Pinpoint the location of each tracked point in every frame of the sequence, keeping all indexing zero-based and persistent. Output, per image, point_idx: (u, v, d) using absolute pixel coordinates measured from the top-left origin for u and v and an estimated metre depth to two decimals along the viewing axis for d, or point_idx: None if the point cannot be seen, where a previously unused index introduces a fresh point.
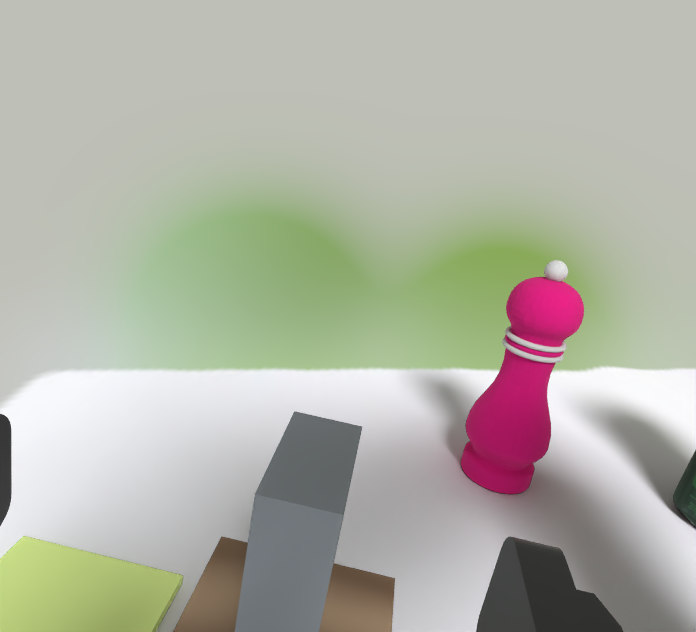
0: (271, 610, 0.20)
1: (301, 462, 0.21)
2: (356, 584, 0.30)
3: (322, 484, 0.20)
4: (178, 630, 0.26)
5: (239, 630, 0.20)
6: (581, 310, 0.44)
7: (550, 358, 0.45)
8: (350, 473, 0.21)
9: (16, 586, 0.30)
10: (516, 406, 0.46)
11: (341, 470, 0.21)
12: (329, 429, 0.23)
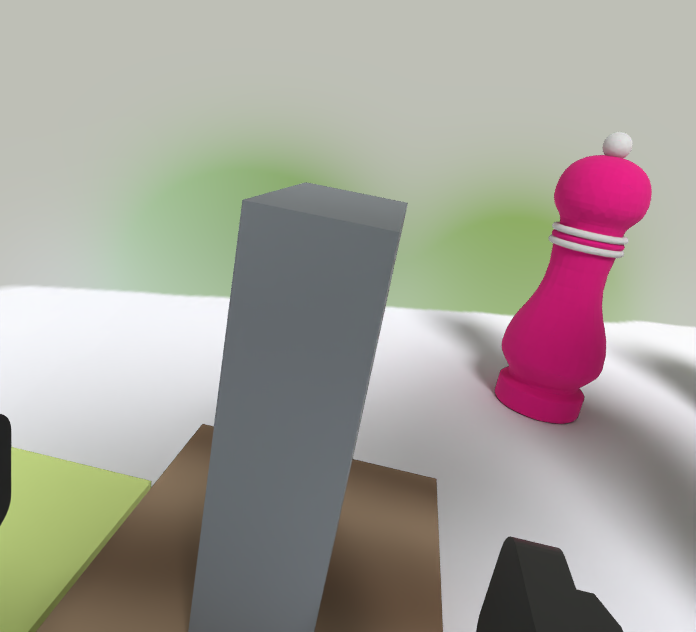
0: (268, 431, 0.12)
1: (320, 200, 0.13)
2: (385, 482, 0.22)
3: (358, 213, 0.12)
4: (132, 520, 0.17)
5: (215, 471, 0.12)
6: (650, 190, 0.36)
7: (610, 251, 0.37)
8: (400, 216, 0.13)
9: None
10: (567, 313, 0.38)
11: (386, 213, 0.13)
12: (359, 196, 0.15)
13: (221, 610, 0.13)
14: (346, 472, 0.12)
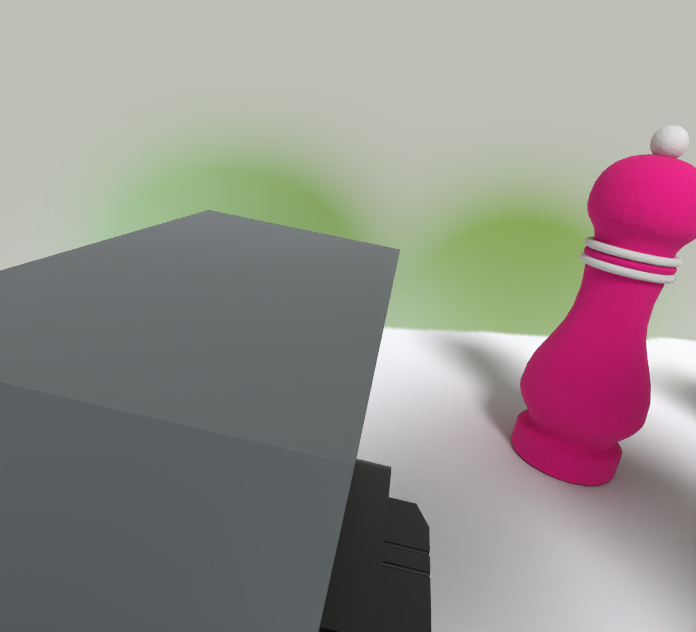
0: None
1: (179, 275, 0.05)
2: None
3: (249, 334, 0.04)
4: None
5: None
6: None
7: (661, 275, 0.29)
8: (377, 318, 0.05)
9: None
10: (605, 352, 0.30)
11: (341, 309, 0.05)
12: (304, 240, 0.08)
13: None
14: None
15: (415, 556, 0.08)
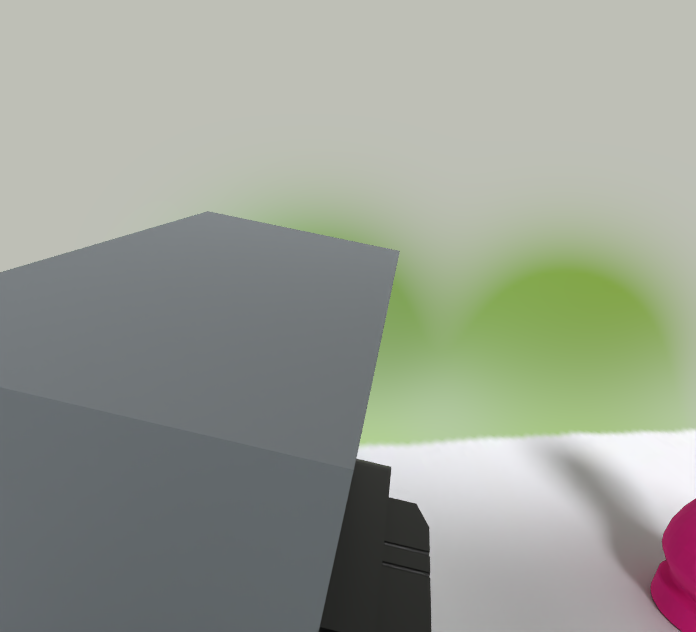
0: None
1: (177, 277, 0.05)
2: None
3: (249, 338, 0.04)
4: None
5: None
6: None
7: None
8: (377, 320, 0.05)
9: None
10: None
11: (341, 311, 0.05)
12: (303, 242, 0.08)
13: None
14: None
15: (415, 556, 0.08)
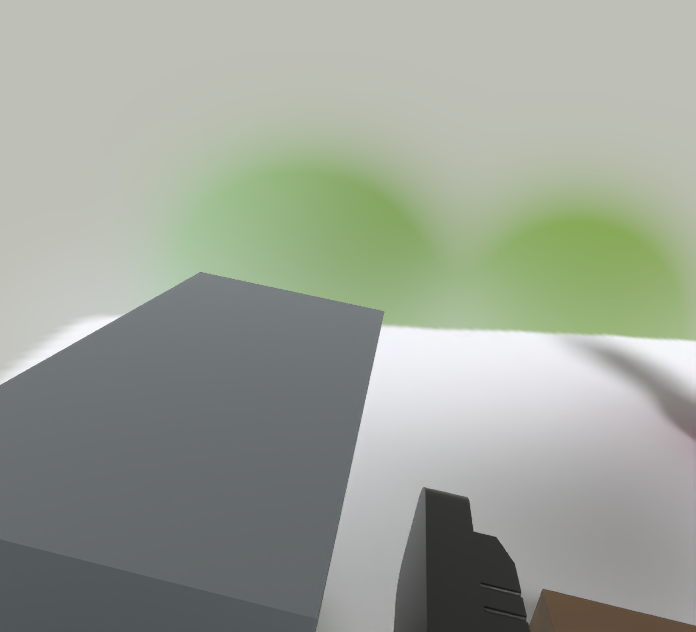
0: None
1: (167, 373, 0.05)
2: None
3: (231, 451, 0.04)
4: None
5: None
6: None
7: None
8: (354, 415, 0.05)
9: None
10: None
11: (321, 405, 0.05)
12: (291, 308, 0.08)
13: None
14: None
15: (507, 598, 0.07)
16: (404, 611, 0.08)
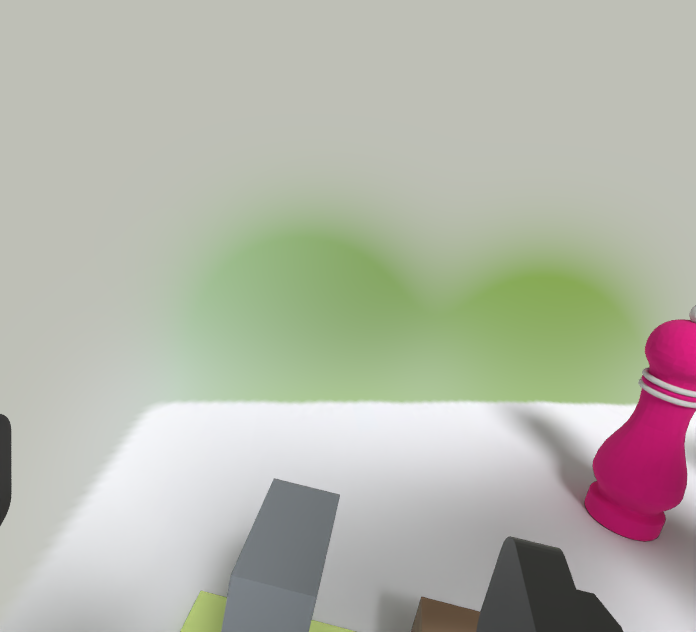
0: None
1: (278, 537, 0.21)
2: None
3: (298, 562, 0.20)
4: None
5: None
6: None
7: None
8: (325, 549, 0.21)
9: None
10: (658, 452, 0.45)
11: (317, 546, 0.21)
12: (307, 498, 0.24)
13: None
14: None
15: None
16: None
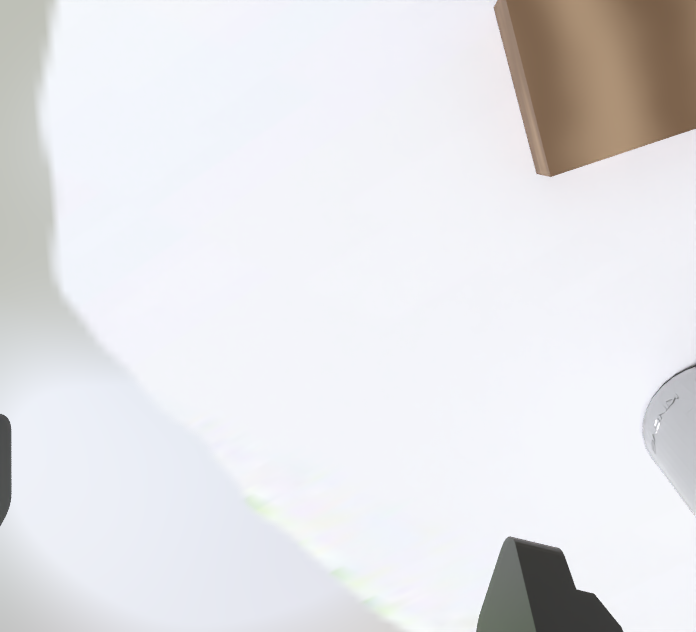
0: None
1: None
2: None
3: None
4: None
5: None
6: None
7: None
8: None
9: None
10: None
11: None
12: None
13: None
14: None
15: None
16: None
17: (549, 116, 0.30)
